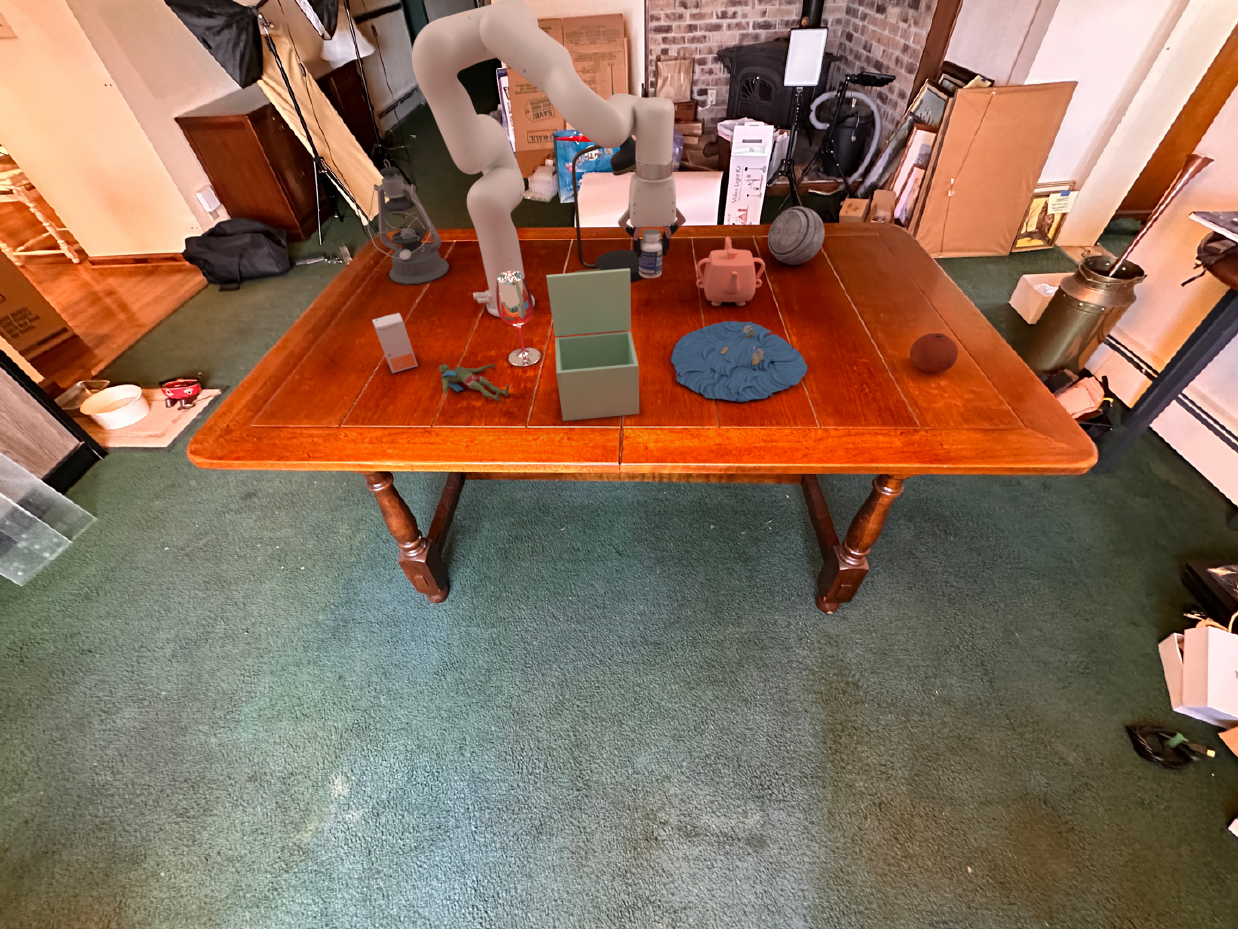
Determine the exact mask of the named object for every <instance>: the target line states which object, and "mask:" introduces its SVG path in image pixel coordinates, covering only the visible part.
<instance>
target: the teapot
mask: <svg viewBox="0 0 1238 929" xmlns="http://www.w3.org/2000/svg"><path fill="white" fill-rule="evenodd" d="M724 243H725V244H724V249H716V250H715V249H714V250H711V251H710V252H709V255H708V257H705V258H704V257H703V259H700V260H699V261H698V262H697V265H696V271H697V274H698V276H699V278H698V279H697V280H696V283H695V285H696V287H697V288H698V289H703V290H704V291H703V292H704V296H705V298H706V300H707V301H710V302H711V305H712V306H715V307H719V306H721V305H722V303H735V305H736V306H740V307H741V306H745V305H746V302H749V301H751V300H753V297H754V296H755V293H756V289H758V288H760V287H761V286H762V284H763V281H762V280H761V279H760V278H761V276H762V274H763V273H764V271H765V268H766V263H765V262H764V260H763V259H762V258H760V257H754V256H753V253H752V252H751V251H750V250H747V249H736V248H733V246H732V239H731V237H730V236H725V240H724ZM755 263H758V264H760V265H761V266H760V268H759V270H758V272H757V273H756V269H755V268H756V267H755ZM704 264H705V267H704V272H702V269H701V267H702V265H704Z"/></svg>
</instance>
